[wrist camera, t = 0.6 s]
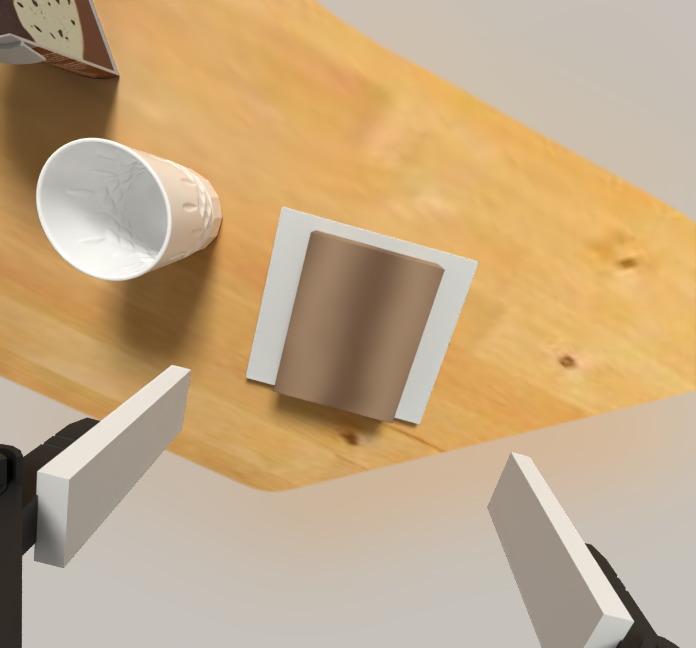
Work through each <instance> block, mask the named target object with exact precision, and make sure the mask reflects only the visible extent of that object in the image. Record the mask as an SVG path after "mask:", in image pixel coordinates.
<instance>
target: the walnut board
mask: <svg viewBox="0 0 696 648" xmlns="http://www.w3.org/2000/svg"><path fill="white" fill-rule="evenodd" d="M444 271H445V269H443V268H442V267H441V266H440V265H439V264H436V263H432V262H429V261H425V260H422V259H418V258H415V257H411V256H407V255H404V254H400V253H397V252H393V251H390V250H386V249H382V248H379V247H375V246H372V245H368V244H364V243H361V242H357V241H354V240H350V239H347V238H343V237H339V236H336V235H332V234H329V233H325V232H322V231H318V230H315V231H313V232H311V234H310V238H309V242H308V246H307V250H306V255H305V259H304V263H303V267H302V272H301V276H300V280H299V284H298V288H297V293H296V297H295V301H294V305H293V310H292V314H291V318H290V322H289V327H288V331H287V335H286V339H285V343H284V348H283V352H282V356H281V360H280V365H279V369H278V373H277V377H276V381H275V386H274V390H273V392H277V393H281V394H284V395H288V396H292V397H295V398H299V399H303V400H307V401H310V402H314V403H318V404H322V405H325V406H329V407H333V408H336V409H340V410H344V411H348V412H351V413H355V414H359V415H362V416H366V417H370V418H374V419H377V420H381V421H385V422H389V423H393V420H394V417H395V414H396V411H397V408H398V405H399V402H400V400H401V397H402V394H403V391H404V388H405V385H406V382H407V379H408V376H409V373H410V370H411V367H412V364H413V361H414V359H415V356H416V353H417V350H418V347H419V344H420V341H421V338H422V335H423V332H424V329H425V326H426V323H427V321H428V318H429V315H430V312H431V309H432V306H433V303H434V300H435V297H436V294H437V291H438V288H439V285H440V283H441V280H442V277H443V274H444Z"/></svg>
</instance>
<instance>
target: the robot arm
mask: <svg viewBox="0 0 696 648" xmlns="http://www.w3.org/2000/svg"><path fill="white" fill-rule="evenodd" d="M190 374H191V370H190V369H186V368H183V367H179V366H175V365H171V366H170V367H169V368H167V369H166V370H165V371H164V372H162V373H161V374H160V375H159V376H157V377H156V378H155V379H154V380H152V381H151V382H150V383H148V384H147V385H146V386H145V387H143V388H142V389H141V390H140V391H138V392H137V393H136V394H135V395H133V396H132V397H131V398H129V399H128V400H127V401H126V402H124V403H123V404H122V405H121V406H119V407H118V408H117V409H116V410H114V411H113V412H112V413H110V414H109V415H108V416H107V417H105V418H104V419H103V420H102V421H98V420H95V419H91V418H85V419H82V420H80V421H77V422H74V423H72V424H69V425H68V426H66V427H65V428H64V429H62V430H61V431H59V432H58V433H56V434H55V436H52V437H51V438H49V439H48V440H47V441H46V442H45V443H44V444H43V445H42V444H41V445H40V446H38V447H37V448H36V449H34V450H33V451H31V452H30V453H29V454H27V455H26V456H24V457H23V455H22V453H21V451H20V450H19V449H17V448H15V447H14V446H10V445H4V444H0V648H22V555H24V553H26V551H28V549H30V547H32V546H33V545H34V544H35V550H34V561H37V562H41V563H45V564H49V565H53V566H57V567H62V568H64V567H65V566H66V565H67V563H68V562H69V561H70V560H71V559H72V558H73V557H74V555H75V554H76V553H77V552H78V551H79V549H80V548H81V547H82V546H83V545H84V544H85V542H86V541H87V540H88V539H89V538H90V536H91V535H92V534H93V533H94V532H95V531H96V530H97V528H98V527H99V526H100V525H101V524H102V523H103V521H104V520H105V519H106V518H107V517H108V516H109V514H110V513H111V512H112V511H113V509H114V508H115V507H116V506H117V505H118V504H119V503H120V501H121V500H122V499H123V498H124V497H125V495H126V494H127V493H128V492H129V491H130V490H131V489H132V487H133V486H134V485H135V484H136V482H138V480H139V479H140V478H141V477H142V476H143V474H144V473H145V472H146V471H147V470H148V469H149V467H150V466H151V465H152V464H153V463H154V462H155V460H156V459H157V458H158V457H159V456H160V455H161V453H162V452H163V451H164V450H165V449H166V448H167V446H168V445H169V444H170V443H171V442H172V441H173V439H174V438H175V437H176V436H177V435H178V433H179V432H180V431H181V430H182V426H183V420H184V413H185V407H186V400H187V393H188V387H189V380H190ZM487 508H488V510H489V513H490V516H491V518H492V521H493V523H494V526H495V528H496V531H497V534H498V536H499V539H500V541H501V544H502V547H503V549H504V552H505V554H506V557H507V559H508V562H509V565H510V567H511V570H512V572H513V575H514V577H515V580H516V583H517V585H518V588H519V590H520V593H521V595H522V598H523V601H524V603H525V605H526V608H527V611H528V613H529V616H530V618H531V621H532V624H533V626H534V629H535V632H536V634H537V637H538V639H539V641H540V644H541V647H542V648H679V647H678V646H677V645H675V644H674V643H672V642H670V641H669V640H667V639H665V638H663V637H660V636H657V634H656V633H655V631H654V630H653V628H652V627H651V625H650V624H649V622H648V621H647V619H646V618H645V616H644V615H643V613H642V612H641V610H640V609H639V607H638V606H637V604H636V603H635V601H634V600H633V598H632V597H631V595H630V594H629V592H628V591H626V590H625V586H624V585H623V583H622V582H621V580H620V579H619V578H617V574H616V573H615V571H614V570H613V568H612V567H611V566H610V564H609V563H608V561H607V560H606V559H605V558H604V557H603V556H602V555H601V554H600V553H599V552H598V551H597V550H596V549H595V548H594V547H593V546H592V545H590V544H586V543H584V542H583V540H582V539H581V537H580V536H579V534H578V533H577V531H576V529H575V528H574V526H573V524H572V523H571V521H570V520H569V518H568V517H567V515H566V513H565V512H564V510H563V509H562V507H561V506H560V504H559V502H558V501H557V499H556V498H555V496H554V495H553V493H552V491H551V490H550V488H549V487H548V485H547V484H546V482H545V480H544V479H543V477H542V476H541V474H540V473H539V471H538V469H537V468H536V466H535V465H534V463H533V462H532V460H531V459H530V457H528V456H524V455H520V454H516V453H512V452H511V454H510V456H509V459H508V461H507V463H506V465H505V468H504V470H503V472H502V474H501V477H500V479H499V481H498V484H497V486H496V488H495V491H494V493H493V495H492V497H491V500H490V502H489V504H488V507H487Z"/></svg>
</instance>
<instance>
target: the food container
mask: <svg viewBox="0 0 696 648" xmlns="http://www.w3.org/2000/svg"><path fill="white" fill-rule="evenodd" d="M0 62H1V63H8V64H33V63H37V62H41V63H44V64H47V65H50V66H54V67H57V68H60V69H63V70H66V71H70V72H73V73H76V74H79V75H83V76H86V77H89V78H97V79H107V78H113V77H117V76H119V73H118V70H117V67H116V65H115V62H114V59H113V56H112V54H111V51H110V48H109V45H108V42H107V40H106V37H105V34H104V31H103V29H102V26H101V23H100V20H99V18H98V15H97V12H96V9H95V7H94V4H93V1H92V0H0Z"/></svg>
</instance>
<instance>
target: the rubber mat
mask: <svg viewBox="0 0 696 648" xmlns="http://www.w3.org/2000/svg"><path fill="white" fill-rule="evenodd" d="M315 230H318V231H322V232H325V233H329V234H332V235H336V236H339V237H343V238H347V239H350V240H354V241H357V242H361V243H364V244H368V245H372V246H375V247H379V248H382V249H386V250H390V251H393V252H397V253H400V254H404V255H407V256H411V257H415V258H418V259H422V260H425V261H429V262H432V263H436V264H439V265H440V266H441V267H442V268H443V269H445V271H444V274H443V277H442V280H441V283H440V285H439V288H438V291H437V294H436V297H435V300H434V303H433V306H432V309H431V312H430V315H429V318H428V321H427V323H426V326H425V329H424V332H423V335H422V338H421V341H420V344H419V347H418V350H417V353H416V356H415V359H414V361H413V364H412V367H411V370H410V373H409V376H408V379H407V382H406V385H405V388H404V391H403V394H402V397H401V400H400V402H399V405H398V408H397V411H396V414H395V417H394V418H398V419H402V420H405V421H409V422H413V423H416V424H420V422H421V419H422V416H423V413H424V411H425V408H426V405H427V402H428V400H429V397H430V394H431V391H432V389H433V386H434V383H435V381H436V378H437V375H438V372H439V370H440V367H441V364H442V361H443V359H444V356H445V353H446V350H447V348H448V345H449V342H450V339H451V337H452V334H453V331H454V328H455V326H456V323H457V320H458V317H459V315H460V312H461V309H462V306H463V304H464V301H465V298H466V296H467V293H468V290H469V287H470V285H471V282H472V279H473V276H474V274H475V271H476V268H477V265H478V263H479V262H478V261H475V260H472V259H468V258H465V257H461V256H458V255H454V254H450V253H447V252H443V251H440V250H436V249H433V248H429V247H425V246H422V245H418V244H415V243H411V242H408V241H404V240H400V239H397V238H393V237H390V236H386V235H383V234H379V233H375V232H372V231H368V230H365V229H361V228H358V227H354V226H350V225H347V224H343V223H340V222H336V221H333V220H329V219H326V218H322V217H318V216H315V215H311V214H308V213H304V212H301V211H297V210H293V209H290V208H286V207H282V209H281V214H280V219H279V223H278V228H277V233H276V237H275V242H274V247H273V252H272V256H271V261H270V266H269V270H268V275H267V280H266V285H265V289H264V294H263V299H262V303H261V308H260V313H259V318H258V322H257V327H256V332H255V336H254V341H253V346H252V351H251V355H250V360H249V365H248V369H247V374H246V378H249V379H253V380H257V381H260V382H264V383H268V384H271V385H275V381H276V377H277V373H278V369H279V365H280V360H281V356H282V352H283V348H284V343H285V339H286V335H287V331H288V327H289V322H290V318H291V314H292V310H293V305H294V301H295V297H296V293H297V288H298V284H299V280H300V276H301V272H302V267H303V263H304V259H305V255H306V250H307V246H308V242H309V238H310V234H311V232H313V231H315Z"/></svg>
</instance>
